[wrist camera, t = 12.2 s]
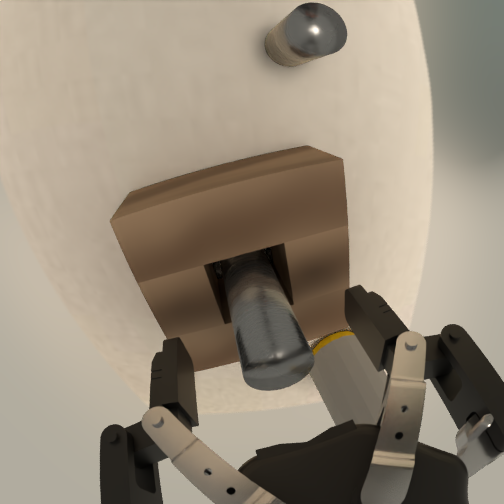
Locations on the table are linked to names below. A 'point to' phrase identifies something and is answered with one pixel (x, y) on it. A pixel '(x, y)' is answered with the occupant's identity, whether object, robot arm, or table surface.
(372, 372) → the soap bottle
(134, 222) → the guide block
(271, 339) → the tall pin
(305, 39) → the short pin
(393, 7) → the table surface
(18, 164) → the table surface
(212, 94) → the table surface
